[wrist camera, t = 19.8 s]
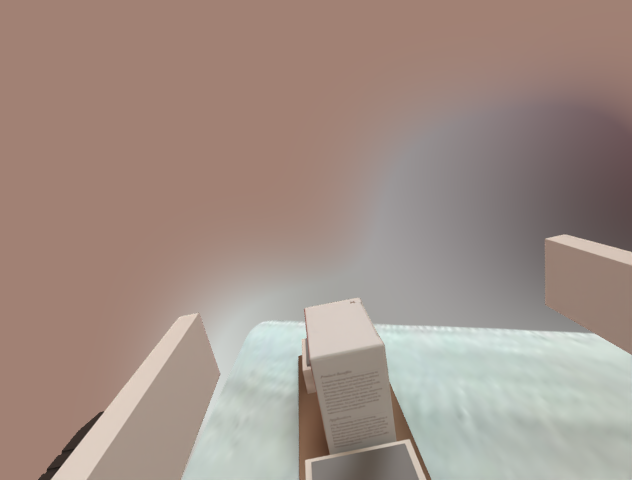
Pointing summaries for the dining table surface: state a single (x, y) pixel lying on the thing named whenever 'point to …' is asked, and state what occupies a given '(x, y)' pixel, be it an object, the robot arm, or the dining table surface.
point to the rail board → (317, 430)
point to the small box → (349, 376)
